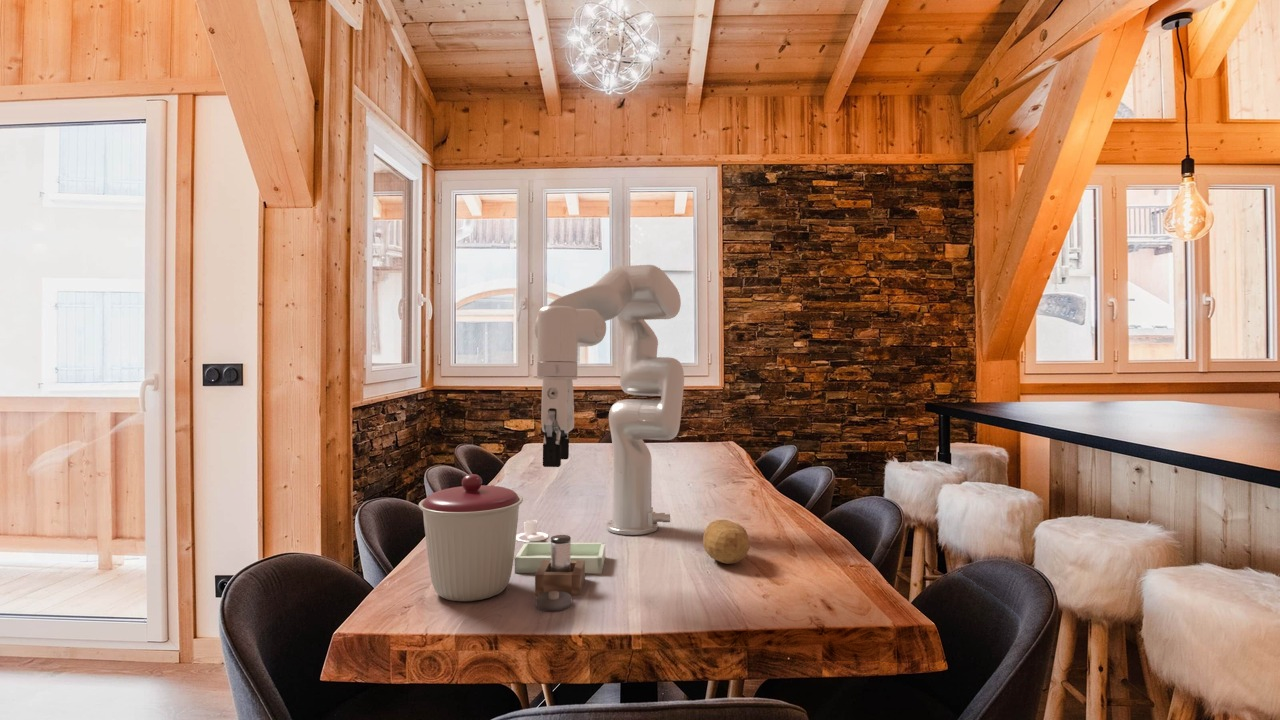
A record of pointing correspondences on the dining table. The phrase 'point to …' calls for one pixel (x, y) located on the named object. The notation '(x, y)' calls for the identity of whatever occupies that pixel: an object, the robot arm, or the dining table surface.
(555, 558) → the dark capped bottle
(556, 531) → the dining table surface
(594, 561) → the tray
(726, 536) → the potato
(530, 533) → the teacup and saucer
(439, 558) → the canister
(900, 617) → the dining table surface
